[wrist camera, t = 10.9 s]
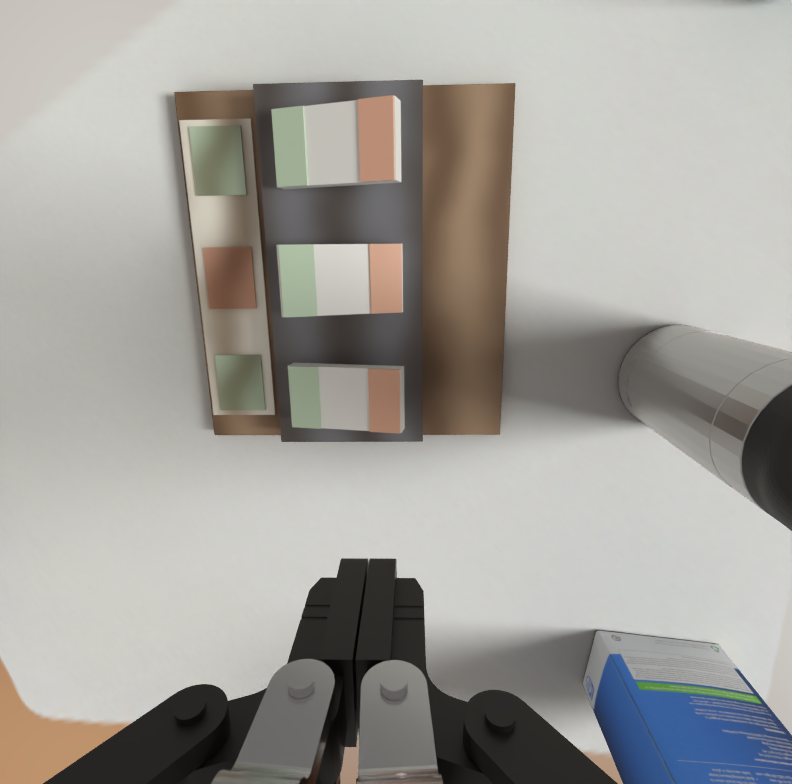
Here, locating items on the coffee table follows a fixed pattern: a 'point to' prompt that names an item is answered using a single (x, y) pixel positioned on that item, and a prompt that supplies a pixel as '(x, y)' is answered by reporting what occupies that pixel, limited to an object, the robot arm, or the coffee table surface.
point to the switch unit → (354, 224)
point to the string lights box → (682, 714)
